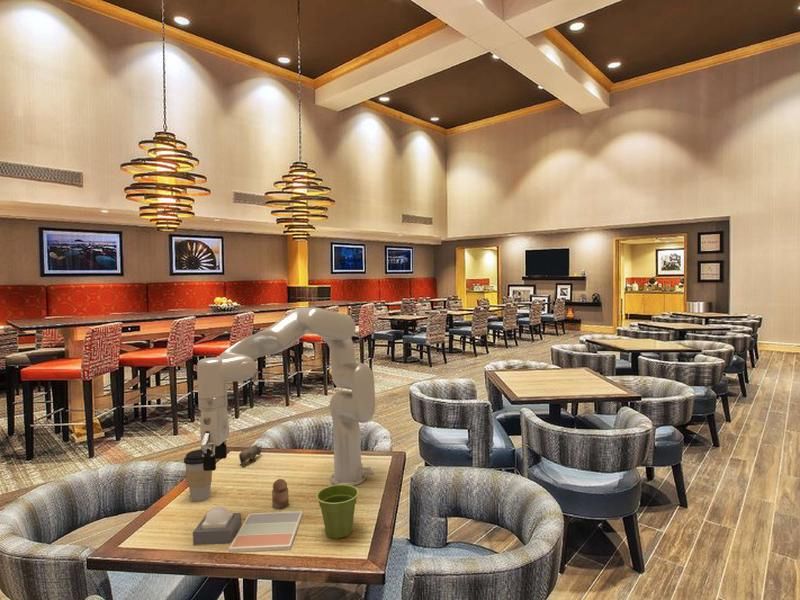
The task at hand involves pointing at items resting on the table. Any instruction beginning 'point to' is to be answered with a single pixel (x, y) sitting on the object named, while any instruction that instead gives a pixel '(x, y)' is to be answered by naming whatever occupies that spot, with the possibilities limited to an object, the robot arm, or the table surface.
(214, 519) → the pop dome
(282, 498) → the walnut pawn
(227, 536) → the dome base
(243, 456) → the rhino figurine
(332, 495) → the plant pot
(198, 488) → the coffee cup
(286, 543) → the game board
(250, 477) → the table surface
